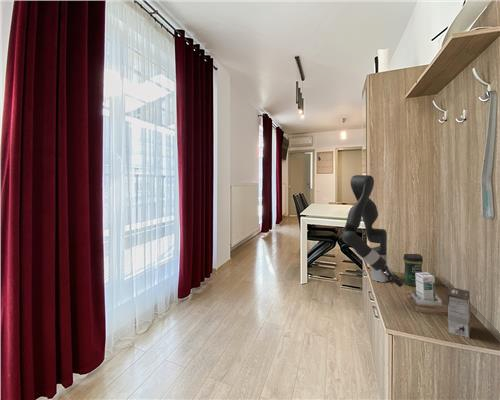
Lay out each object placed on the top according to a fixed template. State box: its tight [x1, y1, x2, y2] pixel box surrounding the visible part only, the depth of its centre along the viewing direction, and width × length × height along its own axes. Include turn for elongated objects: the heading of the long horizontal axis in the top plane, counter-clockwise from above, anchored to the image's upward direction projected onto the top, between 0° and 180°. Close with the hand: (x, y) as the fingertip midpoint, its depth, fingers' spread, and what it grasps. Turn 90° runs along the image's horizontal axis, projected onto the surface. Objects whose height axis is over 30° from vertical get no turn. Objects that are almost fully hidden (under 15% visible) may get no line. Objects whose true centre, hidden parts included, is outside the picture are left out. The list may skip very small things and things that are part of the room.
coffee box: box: [447, 286, 471, 339], centre depth 97 cm, size 9×6×16 cm
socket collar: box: [411, 290, 442, 308], centre depth 118 cm, size 10×10×3 cm
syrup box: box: [415, 271, 436, 301], centre depth 117 cm, size 6×6×14 cm
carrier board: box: [405, 290, 448, 316], centre depth 119 cm, size 20×14×2 cm
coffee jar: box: [402, 253, 424, 287], centre depth 142 cm, size 10×8×19 cm
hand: (399, 282), depth 122 cm, fingers open, 8 cm apart
